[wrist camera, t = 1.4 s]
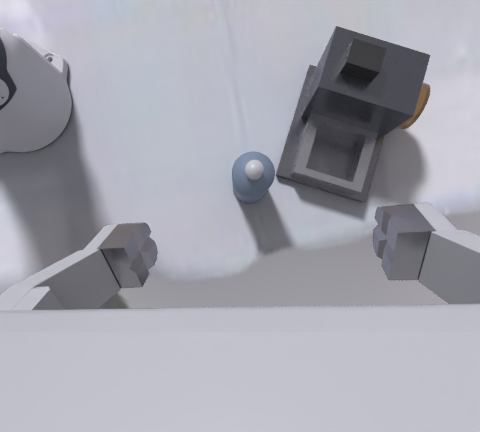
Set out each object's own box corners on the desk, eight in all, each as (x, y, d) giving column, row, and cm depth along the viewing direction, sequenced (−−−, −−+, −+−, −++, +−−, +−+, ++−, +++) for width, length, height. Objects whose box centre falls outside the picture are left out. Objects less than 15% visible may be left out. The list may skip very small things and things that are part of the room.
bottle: (226, 190, 42) (222, 172, 30) (246, 164, 43) (250, 137, 31) (252, 209, 42) (259, 200, 30) (272, 184, 42) (286, 164, 30)
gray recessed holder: (275, 175, 43) (291, 153, 31) (308, 67, 44) (335, 6, 32) (369, 204, 42) (420, 193, 31) (399, 95, 44) (460, 45, 32)
